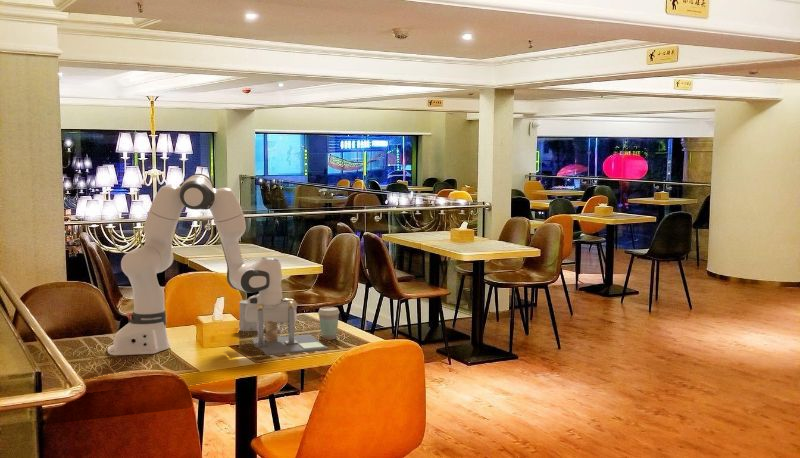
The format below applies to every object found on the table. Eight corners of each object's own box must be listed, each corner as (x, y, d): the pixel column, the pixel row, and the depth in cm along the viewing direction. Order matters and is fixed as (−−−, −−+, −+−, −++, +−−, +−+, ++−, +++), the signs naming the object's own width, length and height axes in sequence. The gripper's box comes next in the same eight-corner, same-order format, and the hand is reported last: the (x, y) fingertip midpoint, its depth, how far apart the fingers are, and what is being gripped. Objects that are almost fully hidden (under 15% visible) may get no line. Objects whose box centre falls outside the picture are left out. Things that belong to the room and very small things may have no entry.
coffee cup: (341, 336, 336) (341, 306, 335) (337, 341, 328) (337, 311, 326) (320, 335, 337) (320, 306, 336) (316, 340, 328) (316, 310, 327)
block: (267, 341, 323) (267, 321, 322) (265, 339, 326) (264, 319, 326) (277, 340, 324) (277, 320, 323) (275, 338, 328) (274, 318, 327)
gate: (256, 347, 313) (255, 305, 311) (253, 345, 317) (253, 303, 315) (298, 344, 319) (298, 302, 317) (295, 341, 323) (295, 300, 321)
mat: (265, 355, 304) (265, 353, 304) (251, 341, 326) (251, 339, 326) (327, 349, 313) (327, 347, 313) (310, 336, 335) (310, 334, 335)
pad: (304, 349, 311) (304, 348, 311) (298, 344, 318) (298, 343, 318) (324, 347, 314) (324, 346, 314) (318, 342, 321) (318, 341, 321)
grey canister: (235, 332, 342) (235, 302, 341) (246, 327, 351) (245, 298, 350) (256, 333, 340) (256, 304, 338) (266, 328, 349) (266, 299, 347)
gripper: (298, 297, 326) (299, 332, 327) (248, 296, 328) (248, 330, 329) (294, 300, 319) (295, 335, 321) (243, 299, 322) (243, 334, 323)
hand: (271, 333), depth 325 cm, fingers closed on block, 5 cm apart
